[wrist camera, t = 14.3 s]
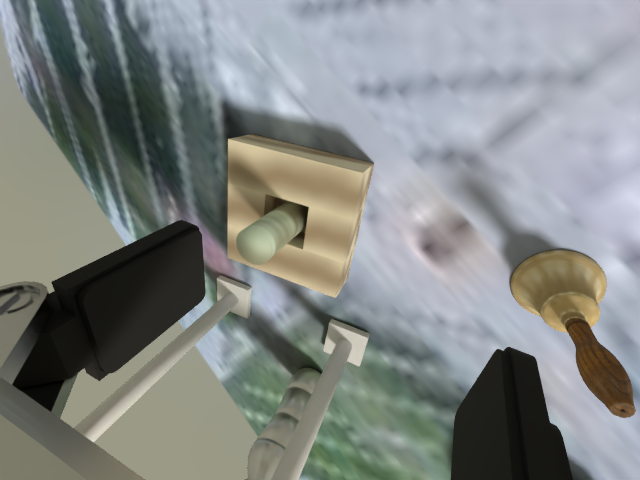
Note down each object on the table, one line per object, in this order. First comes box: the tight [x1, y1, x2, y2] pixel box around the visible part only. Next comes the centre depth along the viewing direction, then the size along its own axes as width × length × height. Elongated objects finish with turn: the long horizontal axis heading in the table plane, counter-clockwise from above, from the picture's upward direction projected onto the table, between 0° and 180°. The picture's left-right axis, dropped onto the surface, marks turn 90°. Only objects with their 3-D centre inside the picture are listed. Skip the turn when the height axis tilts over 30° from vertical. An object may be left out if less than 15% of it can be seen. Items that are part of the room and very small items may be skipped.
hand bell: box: [511, 250, 636, 418], centre depth 27 cm, size 8×8×16 cm
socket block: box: [228, 134, 374, 298], centre depth 39 cm, size 16×16×5 cm
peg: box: [236, 201, 309, 265], centre depth 36 cm, size 4×4×11 cm
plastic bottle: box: [246, 368, 321, 480], centre depth 46 cm, size 6×7×20 cm
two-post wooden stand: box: [74, 275, 370, 480], centre depth 33 cm, size 14×26×36 cm, turn 81°
